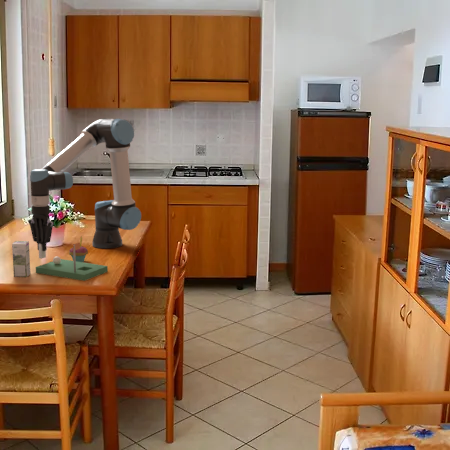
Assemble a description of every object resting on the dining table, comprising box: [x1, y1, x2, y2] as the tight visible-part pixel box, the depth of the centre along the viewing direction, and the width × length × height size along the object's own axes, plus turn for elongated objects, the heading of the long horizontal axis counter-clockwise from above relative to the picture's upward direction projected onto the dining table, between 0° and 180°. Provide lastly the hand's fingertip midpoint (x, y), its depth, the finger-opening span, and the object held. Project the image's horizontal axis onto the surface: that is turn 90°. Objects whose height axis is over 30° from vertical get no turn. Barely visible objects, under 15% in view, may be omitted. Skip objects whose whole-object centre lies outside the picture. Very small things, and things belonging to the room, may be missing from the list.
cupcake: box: [68, 235, 89, 263], centre depth 290 cm, size 9×8×12 cm
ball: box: [52, 256, 62, 264], centre depth 276 cm, size 4×4×4 cm
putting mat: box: [35, 242, 109, 282], centre depth 272 cm, size 16×26×14 cm, turn 64°
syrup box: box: [11, 240, 31, 278], centre depth 266 cm, size 6×6×14 cm
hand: (42, 257), depth 279 cm, fingers closed
